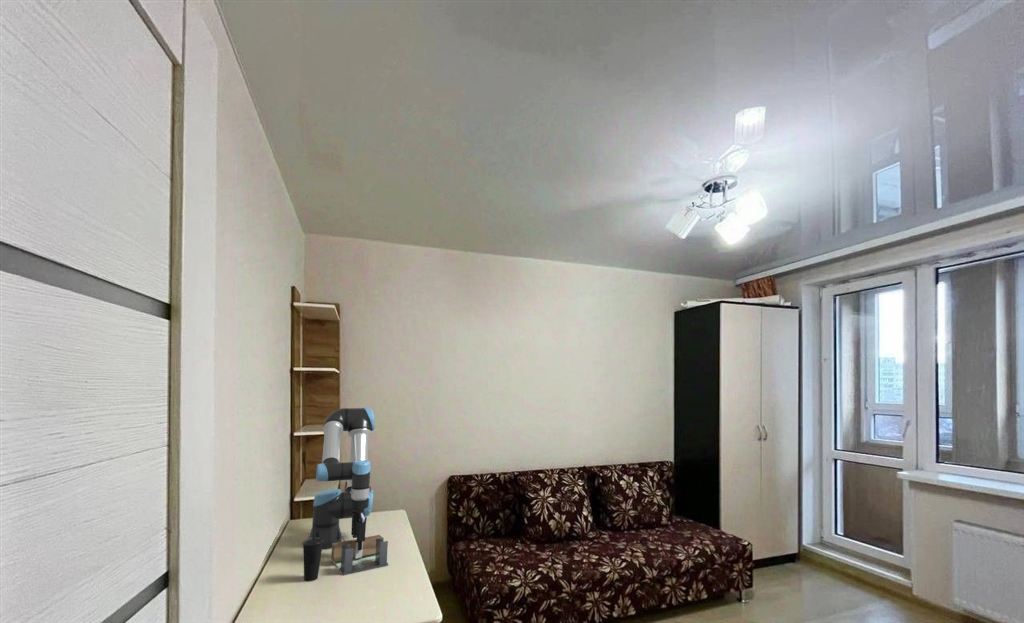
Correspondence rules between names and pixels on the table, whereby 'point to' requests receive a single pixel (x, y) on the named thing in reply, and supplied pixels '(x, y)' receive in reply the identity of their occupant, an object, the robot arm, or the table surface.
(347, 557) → the rack
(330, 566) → the table surface
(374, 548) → the rail
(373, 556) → the mat
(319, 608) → the table surface
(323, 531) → the robot arm
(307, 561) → the drinking cup
